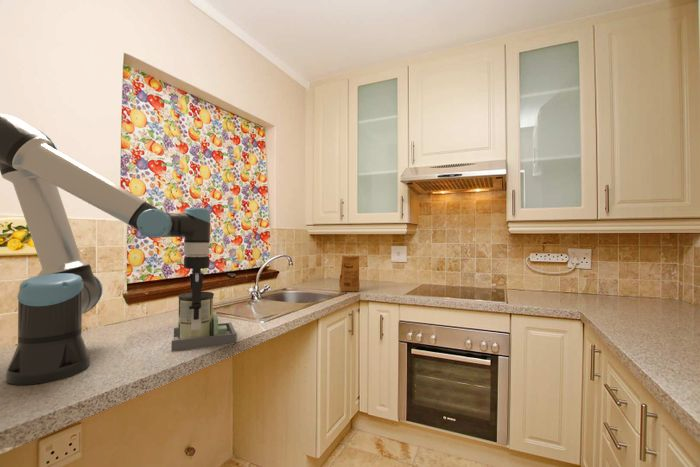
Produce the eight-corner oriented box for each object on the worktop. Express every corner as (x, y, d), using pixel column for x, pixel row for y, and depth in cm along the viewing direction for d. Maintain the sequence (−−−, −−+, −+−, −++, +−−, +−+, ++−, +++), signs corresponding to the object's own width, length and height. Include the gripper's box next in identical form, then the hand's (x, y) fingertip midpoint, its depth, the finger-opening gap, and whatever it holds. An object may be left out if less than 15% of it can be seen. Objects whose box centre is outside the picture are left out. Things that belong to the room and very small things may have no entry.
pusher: (213, 342, 103) (214, 320, 103) (211, 332, 114) (212, 311, 114) (228, 340, 105) (228, 318, 105) (224, 330, 116) (225, 310, 116)
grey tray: (171, 351, 97) (171, 340, 97) (173, 336, 110) (174, 327, 110) (236, 343, 104) (236, 333, 105) (231, 330, 118) (231, 322, 118)
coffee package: (339, 289, 211) (339, 255, 211) (358, 289, 212) (359, 255, 212) (339, 292, 201) (340, 256, 201) (359, 292, 202) (360, 256, 202)
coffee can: (171, 338, 106) (172, 294, 106) (203, 331, 114) (204, 290, 114) (186, 345, 99) (187, 298, 99) (219, 337, 107) (219, 294, 107)
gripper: (211, 258, 98) (210, 333, 98) (208, 253, 118) (206, 316, 118) (183, 258, 95) (181, 336, 94) (184, 253, 115) (183, 318, 115)
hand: (195, 325), depth 106 cm, fingers closed on coffee can, 10 cm apart
